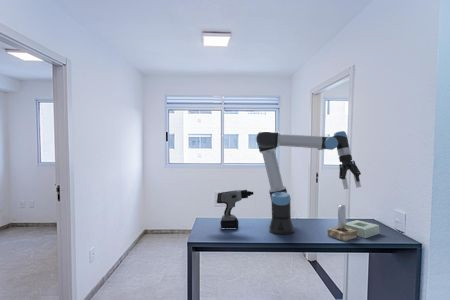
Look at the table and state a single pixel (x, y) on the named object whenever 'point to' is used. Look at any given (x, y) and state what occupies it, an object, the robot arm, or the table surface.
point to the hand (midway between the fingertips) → (352, 188)
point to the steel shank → (341, 218)
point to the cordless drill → (231, 206)
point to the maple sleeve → (342, 234)
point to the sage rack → (363, 228)
